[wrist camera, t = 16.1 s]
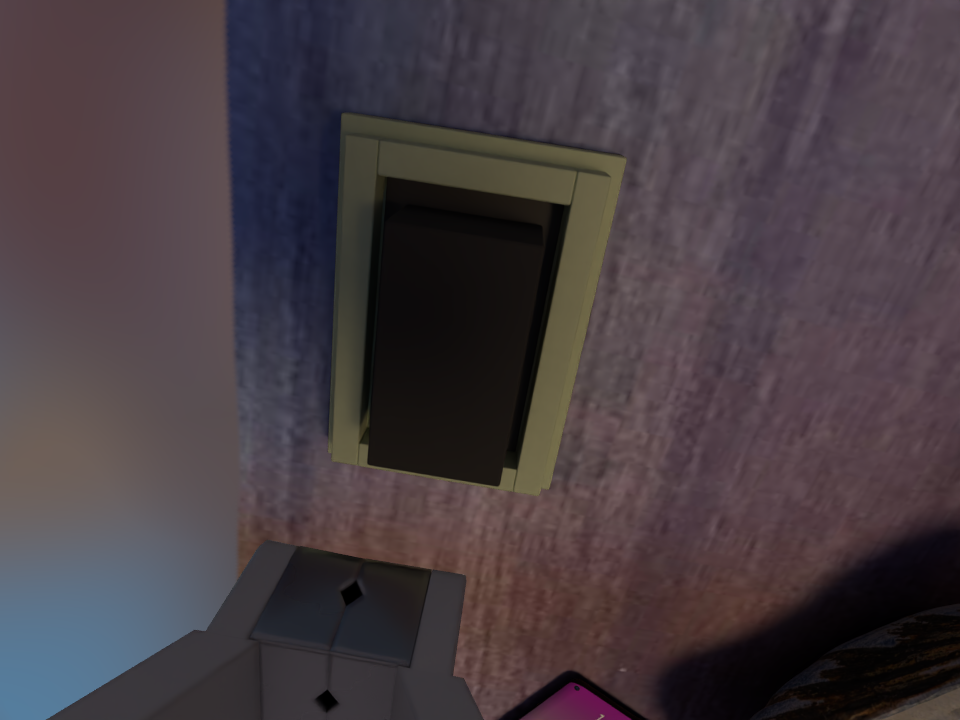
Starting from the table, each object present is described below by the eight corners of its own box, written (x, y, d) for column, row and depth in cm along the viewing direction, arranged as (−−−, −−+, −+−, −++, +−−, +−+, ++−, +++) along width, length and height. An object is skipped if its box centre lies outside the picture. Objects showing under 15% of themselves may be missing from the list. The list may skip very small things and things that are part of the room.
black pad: (406, 203, 18) (384, 220, 16) (543, 225, 18) (545, 246, 15) (387, 420, 22) (366, 466, 19) (503, 439, 21) (499, 488, 19)
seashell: (738, 506, 23) (789, 603, 19) (1066, 534, 22) (1202, 643, 18) (670, 748, 29) (695, 866, 25) (925, 777, 29) (999, 904, 24)
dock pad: (350, 112, 18) (328, 112, 16) (622, 155, 18) (634, 161, 16) (335, 439, 23) (317, 470, 21) (548, 475, 23) (550, 510, 21)
